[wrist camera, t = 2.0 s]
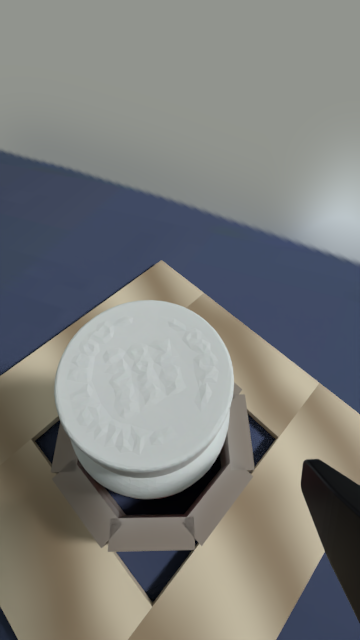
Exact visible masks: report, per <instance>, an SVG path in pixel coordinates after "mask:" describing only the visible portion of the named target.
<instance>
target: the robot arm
mask: <svg viewBox="0 0 360 640" xmlns="http://www.w3.org/2000/svg"><path fill="white" fill-rule="evenodd" d="M301 490H302V493H303V496H304V499H305V501H306V504H307V506H308V509H309V512H310V514H311V517H312V520H313V522H314V525H315V527H316V530H317V533H318V535H319V538H320V540H321V543H322V545H323V548H324V550H325V553H326V555H327V557H328V559H329V561H330V563H331V565H332V567H333V570H334V572H335V574H336V576H337V578H338V580H339V582H340V584H341V586H342V588H343V590H344V592H345V594H346V596H347V598H348V600H349V602H350V604H351V606H352V608H353V610H354V613H355V615H356V617H357V619H358V621H359V623H360V485H358V484H357V483H355V482H354V481H352V480H351V479H349V478H348V477H346V476H345V475H343V474H341V473H340V472H338V471H337V470H335V469H334V468H332V467H331V466H329V465H328V464H326V463H324V462H323V461H321V460H320V459H306V460H304V462H303V466H302V475H301Z"/></svg>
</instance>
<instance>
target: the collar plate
mask: <svg viewBox="0 0 360 640" xmlns="http://www.w3.org/2000/svg"><path fill="white" fill-rule="evenodd" d="M140 300H156V301H165V302H170V303H173V304H177V305H180V306H183V307H185V308H187V309H189V310H191V311H193V312H195V313H196V314H198V315H199V316H200V317H202V318H203V319H204V320H206V321H207V322H208V323H209V324H210V325H211V326H212V327H213V328H214V329H215V330H216V332H217V333H218V334H219V336H220V337H221V339H222V340H223V342H224V344H225V346H226V348H227V350H228V352H229V355H230V358H231V361H232V366H233V374H234V391H233V398H232V402H231V406H230V418H229V426H228V431H227V435H226V438H225V442H224V444H223V447H222V449H221V451H220V462H221V469H220V470H219V471H218V472H217V474H216V475H215V476H214V477H213V479H212V480H211V481H210V482H209V484H208V485H207V486H206V487H205V489H204V490H203V491H202V492H201V494H200V495H199V496H198V497H197V498H196V500H195V501H194V502H193V503H192V505H191V506H190V507H189V508H188V510H187V511H186V512H185V513H184V514H152V515H126V514H125V513H124V512H123V510H122V509H121V508H120V507H119V505H118V504H117V503H116V501H115V500H114V499H113V498H112V496H111V495H110V494H109V492H108V491H107V490H106V489H105V487H104V486H102V485H101V484H100V483H98V482H97V481H96V480H94V479H93V477H92V476H91V475H90V474H89V473H88V472H87V471H86V470H85V469H84V467H83V466H82V464H81V463H80V461H79V459H78V458H77V456H76V454H75V451H74V449H73V446H72V443H71V439H70V438H69V436H68V435H67V433H66V432H65V430H64V428H63V426H62V424H61V421H60V426H59V431H58V437H57V442H56V447H55V452H54V457H53V462H52V464H51V462H50V461H49V460H48V458H47V457H46V456H45V454H44V453H43V451H42V450H41V449H40V447H39V446H38V445H37V443H36V442H35V440H37V439H38V438H39V437H40V436H41V435H42V434H44V433H45V432H46V431H47V430H48V429H49V428H51V427H52V426H53V425H54V424H55V423H56V422H58V421H59V420H60V419H59V416H58V412H57V409H56V404H55V397H54V385H55V377H56V371H57V368H58V364H59V362H60V359H61V357H62V355H63V353H64V350H65V349H66V347H67V345H68V344H69V342H70V340H71V339H72V338H73V337H74V335H75V334H76V333H77V332H78V331H79V330H80V328H81V327H83V326H84V325H85V324H86V323H87V322H89V321H90V320H91V319H93V318H94V317H95V316H97V315H98V314H100V313H102V312H104V311H105V310H107V309H110V308H112V307H115V306H117V305H120V304H124V303H127V302H133V301H140ZM248 414H249V415H250V416H251V417H252V418H253V419H254V420H255V421H256V422H257V423H258V424H260V425H261V426H262V427H263V428H264V429H265V430H266V431H267V432H268V433H270V434H271V435H272V436H273V437H274V438H275V441H274V442H273V443H272V445H271V446H270V447H269V449H268V450H267V451H266V453H265V454H264V455H263V457H262V458H261V459H260V461H259V462H258V463H257V465H256V466H255V467H254V460H253V452H252V444H251V436H250V429H249V421H248ZM306 459H320V460H321V461H323V462H324V463H326V464H328V465H329V466H331V467H332V468H334V469H335V470H337V471H338V472H340V473H341V474H343V475H345V476H346V477H348V478H349V479H351V480H352V481H354V482H355V483H357V484H358V485H360V414H359V413H357V412H356V411H355V410H354V409H352V408H351V407H350V406H348V405H347V404H346V403H345V402H343V401H342V400H341V399H339V398H338V397H337V396H336V395H334V394H333V393H332V392H330V391H329V390H328V389H327V388H325V387H324V386H323V385H321V384H320V383H319V382H318V381H316V380H315V379H314V378H312V377H311V376H310V375H309V374H307V373H306V372H305V371H303V370H302V369H301V368H300V367H298V366H297V365H296V364H294V363H293V362H292V361H291V360H289V359H288V358H287V357H285V356H284V355H283V354H282V353H280V352H279V351H278V350H276V349H275V348H274V347H273V346H271V345H270V344H269V343H267V342H266V341H265V340H264V339H262V338H261V337H260V336H258V335H257V334H256V333H255V332H253V331H252V330H251V329H249V328H248V327H247V326H246V325H244V324H243V323H242V322H240V321H239V320H238V319H237V318H235V317H234V316H233V315H231V314H230V313H229V312H228V311H226V310H225V309H224V308H222V307H221V306H220V305H219V304H217V303H216V302H215V301H213V300H212V299H211V298H210V297H208V296H207V295H206V294H204V293H203V292H202V291H201V290H199V289H198V288H197V287H195V286H194V285H193V284H192V283H190V282H189V281H188V280H186V279H185V278H184V277H183V276H181V275H180V274H179V273H177V272H176V271H175V270H174V269H172V268H171V267H170V266H168V265H167V264H166V263H165V262H163V261H162V260H161V261H160V262H158V263H157V264H156V265H154V266H153V267H151V268H150V269H149V270H147V271H146V272H144V273H143V274H142V275H140V276H139V277H138V278H136V279H135V280H133V281H132V282H131V283H129V284H128V285H126V286H125V287H124V288H122V289H121V290H119V291H118V292H117V293H115V294H114V295H112V296H111V297H110V298H108V299H107V300H106V301H104V302H103V303H101V304H100V305H99V306H97V307H96V308H94V309H93V310H92V311H90V312H89V313H87V314H86V315H85V316H83V317H82V318H80V319H79V320H78V321H76V322H75V323H74V324H72V325H71V326H69V327H68V328H67V329H65V330H64V331H62V332H61V333H60V334H58V335H57V336H55V337H54V338H53V339H51V340H50V341H48V342H47V343H46V344H44V345H43V346H42V347H40V348H39V349H37V350H36V351H35V352H33V353H32V354H30V355H29V356H28V357H26V358H25V359H23V360H22V361H21V362H19V363H18V364H16V365H15V366H14V367H12V368H11V369H10V370H8V371H7V372H5V373H4V374H3V375H1V376H0V607H1V609H2V610H3V612H4V614H5V616H6V618H7V620H8V622H9V623H10V625H11V627H12V629H13V631H14V633H15V635H16V637H17V638H18V640H276V639H277V637H278V635H279V633H280V631H281V630H282V628H283V626H284V624H285V622H286V621H287V619H288V617H289V615H290V613H291V612H292V610H293V608H294V606H295V604H296V603H297V601H298V599H299V597H300V595H301V594H302V592H303V590H304V588H305V586H306V585H307V583H308V581H309V579H310V577H311V575H312V574H313V572H314V570H315V568H316V566H317V565H318V563H319V561H320V559H321V557H322V556H323V554H324V552H325V550H324V548H323V545H322V543H321V540H320V538H319V535H318V533H317V530H316V527H315V525H314V522H313V520H312V517H311V514H310V512H309V509H308V506H307V504H306V501H305V499H304V496H303V493H302V490H301V475H302V466H303V462H304V460H306ZM250 471H251V473H249V472H250ZM195 539H196V540H197V542H198V543H197V545H196V546H195ZM166 550H192V551H191V553H190V554H189V555H188V557H187V558H186V559H185V561H184V562H183V563H182V565H181V566H180V567H179V569H178V570H177V571H176V573H175V574H174V575H173V577H172V578H171V579H170V581H169V582H168V583H167V585H166V586H165V587H164V589H163V590H162V591H161V593H160V594H159V595H158V597H157V598H156V599H155V601H154V602H153V603H152V601H151V600H150V598H149V597H148V596H147V594H146V593H145V592H144V590H143V589H142V587H141V586H140V585H139V583H138V582H137V581H136V579H135V578H134V576H133V575H132V574H131V572H130V571H129V570H128V568H127V567H126V565H125V564H124V563H123V561H122V560H121V559H120V557H119V556H118V554H117V553H116V552H119V551H166Z"/></svg>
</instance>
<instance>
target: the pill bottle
mask: <svg viewBox="0 0 360 640" xmlns="http://www.w3.org/2000/svg"><path fill="white" fill-rule="evenodd" d="M233 391H234V374H233V366H232V361H231V358H230V355H229V352H228V350H227V348H226V346H225V344H224V342H223V340H222V339H221V337H220V336H219V334H218V333H217V332H216V330H215V329H214V328H213V327H212V326H211V325H210V324H209V323H208V322H207V321H206V320H204V319H203V318H202V317H200V316H199V315H198V314H196V313H195V312H193V311H191V310H189V309H187V308H185V307H183V306H180V305H177V304H173V303H170V302H165V301H156V300H140V301H133V302H127V303H124V304H120V305H117V306H115V307H112V308H110V309H107V310H105V311H104V312H102V313H100V314H98V315H97V316H95V317H94V318H93V319H91V320H90V321H89V322H87V323H86V324H85V325H84V326H83V327H81V328H80V330H79V331H78V332H77V333H76V334H75V335H74V337H73V338H72V339H71V340H70V342H69V344H68V345H67V347H66V349H65V350H64V353H63V355H62V357H61V359H60V362H59V364H58V368H57V371H56V377H55V385H54V397H55V404H56V409H57V412H58V416H59V419H60V421H61V424H62V426H63V428H64V430H65V432H66V433H67V435H68V436H69V438H70V439H71V443H72V446H73V449H74V451H75V454H76V456H77V458H78V459H79V461H80V463H81V464H82V466H83V467H84V469H85V470H86V471H87V472H88V473H89V474H90V475H91V476H92V477H93V479H94V480H96V481H97V482H98V483H100V484H101V485H102V486H104V487H106V488H107V489H109V490H111V491H113V492H116V493H118V494H121V495H124V496H128V497H132V498H137V499H160V498H165V497H168V496H171V495H174V494H177V493H179V492H181V491H183V490H184V489H186V488H188V487H190V486H192V485H193V484H194V483H195V482H196V481H198V480H199V479H200V478H201V477H203V475H205V474H206V472H207V471H208V470H209V469H210V468H211V466H212V465H213V464H214V462H215V460H216V458H217V457H218V455H219V453H220V451H221V449H222V447H223V444H224V442H225V438H226V435H227V431H228V426H229V418H230V406H231V402H232V398H233Z"/></svg>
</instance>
